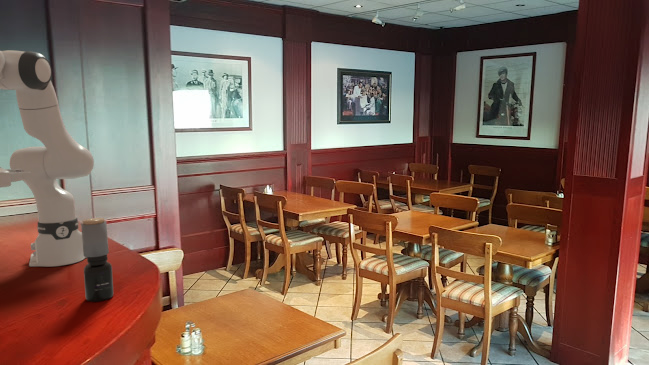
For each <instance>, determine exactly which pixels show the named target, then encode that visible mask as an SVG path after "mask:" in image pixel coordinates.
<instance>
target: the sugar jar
mask: <svg viewBox="0 0 649 365" xmlns="http://www.w3.org/2000/svg"><path fill="white" fill-rule="evenodd" d="M80 227H81V232H82V241H83V253H84V256H85V257H86V258H87V257H99V256H103V255H106V254H107V255H108V254H109V253H110V252H109V241H108V239H109V238H108V227H107V221H106V220H105V218H104V217H93V218H92V217H91V218H86V219H83V220H82V223H81V224H80Z"/></svg>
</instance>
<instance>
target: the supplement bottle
mask: <svg viewBox="0 0 649 365" xmlns="http://www.w3.org/2000/svg"><path fill="white" fill-rule="evenodd" d="M86 262H87V264H86V265H85V266H84V268H83V277H84V279H83V280H84V292H85V294H84V295H85V299H86V300H87V301H89V302H93V303H95V302H97V303H98V302H104V301H107V300H109V299H111V298H112V297H113V296H114V281H113V280H114V279H113V265H112V264H111V262H109V261H108V254H106V255H103V256H99V257H86Z"/></svg>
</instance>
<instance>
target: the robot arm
mask: <svg viewBox="0 0 649 365" xmlns="http://www.w3.org/2000/svg"><path fill="white" fill-rule="evenodd" d="M52 76H53V69H52V65H51V62H50V61H49V60H48V59H47V58H46V57H45V56H44V55H43V54H42V53H39V52H36V51H30V50H27V51H21V50H11V49H10V50H9V49H8V50H0V90H4V91H5V90H7V91H10V90H11V91H15V96H16V100H17V107H18V111H19V115H20V119H21V123H22V126H23V129H24V131H25V132H26V133H27V134H28V135H29V136H30V137H32V138H34V139H36V140H38V141H40V142H41V143H42V144H43V146H42V145H41V146H27V147H23V148H18V149H16V150H14V151H13V152H12V154H11V156H10V159H9V167H10V168H9V169H7V168H3V167H1V166H0V188H8V187H11V186H12V183H14V182H20V181H23V182H24V183H25V184H26V185H27V187H28V188H29V189H30V191H31V193H32V195H33V197H34V200H35V203H36V204H35V205H36V210H37V217H38V218H37V219H38V221H37V225H36V226H37V227H36V228H37V233H38V235H37V236H36V238H35V240H34V242H31V244H30V250H31V251H33V252H32V253H31V254H30V258H29V259H30V260H29V264H28V267H61V266H66V265H72V264H75V263H79V262H81V261H83V260H84V259H87V257H85V256H84V253H83V241H82V231H80V230H79V219H78V217H77V214H76V203H75V201H76V200H75V196H73V194H72V193H71V192H70V191H68V190H66V189H64V188H62V187H61V186H60V184H59V183H58V182H57V181H58V180H73V179H78V178H84V177H87V176H88V175H90V174H91V173H92V171H93V169H94V166H95V160H94V156H93V153H91V151H90V150H89V149H88V148H86V147H85V146H83V145H81V144H80V143H78V142H77V141H76V140H75V138H73V137H72V135H71V134H70V133H69V131H68V130H67V128H66V126H65V122H64V121H63V120H64V119H63V116H62V113H61V109H60V105H59V101H58V97H57V94H56V91H55V87H54V85H53V82H52V80H51V79H52Z"/></svg>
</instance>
